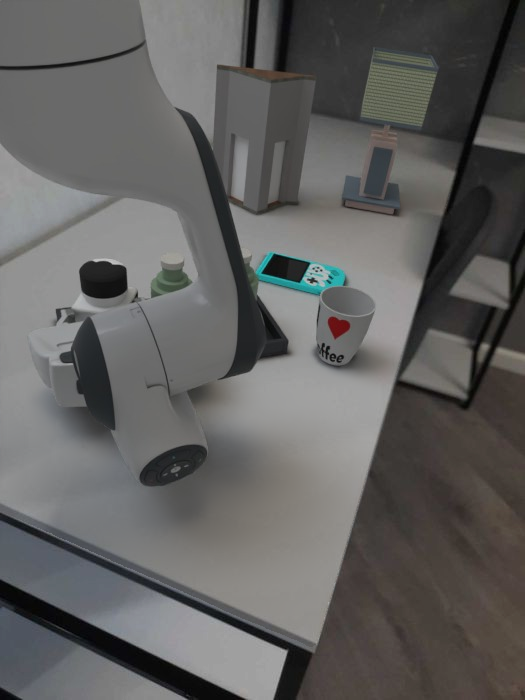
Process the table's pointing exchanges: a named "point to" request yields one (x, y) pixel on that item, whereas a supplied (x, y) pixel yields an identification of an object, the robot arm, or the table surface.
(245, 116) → the grey toy building
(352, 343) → the cup
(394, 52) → the desk lamp
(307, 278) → the handheld game console
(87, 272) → the medicine bottle
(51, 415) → the table surface
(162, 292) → the near bottle
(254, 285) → the far bottle
